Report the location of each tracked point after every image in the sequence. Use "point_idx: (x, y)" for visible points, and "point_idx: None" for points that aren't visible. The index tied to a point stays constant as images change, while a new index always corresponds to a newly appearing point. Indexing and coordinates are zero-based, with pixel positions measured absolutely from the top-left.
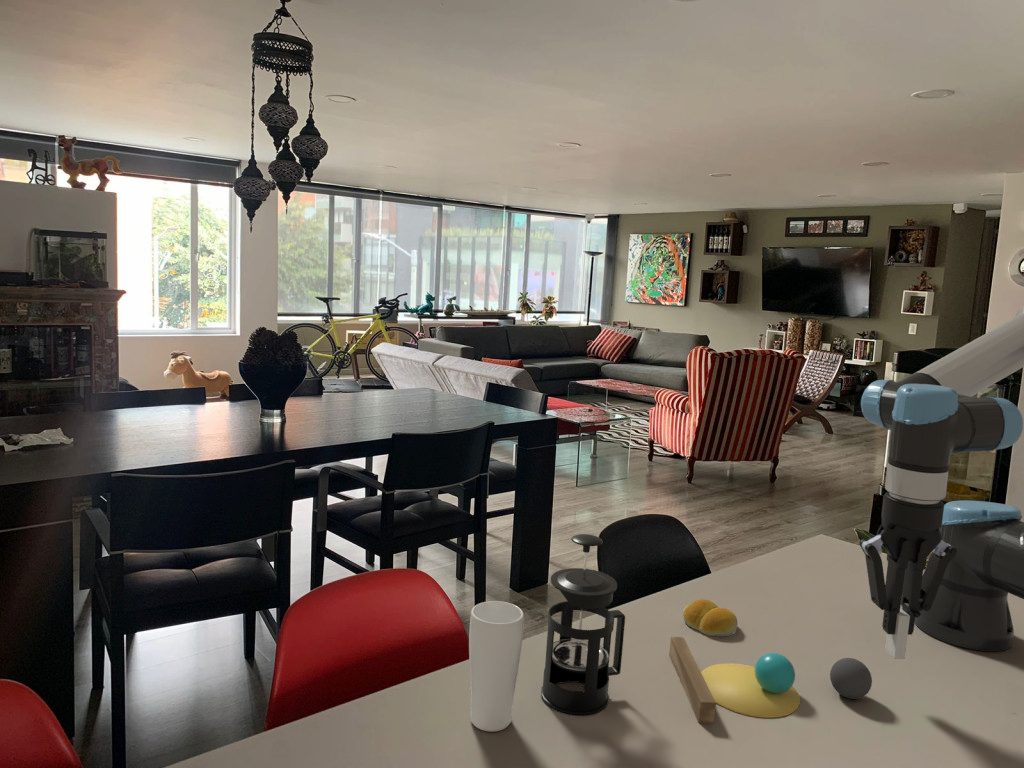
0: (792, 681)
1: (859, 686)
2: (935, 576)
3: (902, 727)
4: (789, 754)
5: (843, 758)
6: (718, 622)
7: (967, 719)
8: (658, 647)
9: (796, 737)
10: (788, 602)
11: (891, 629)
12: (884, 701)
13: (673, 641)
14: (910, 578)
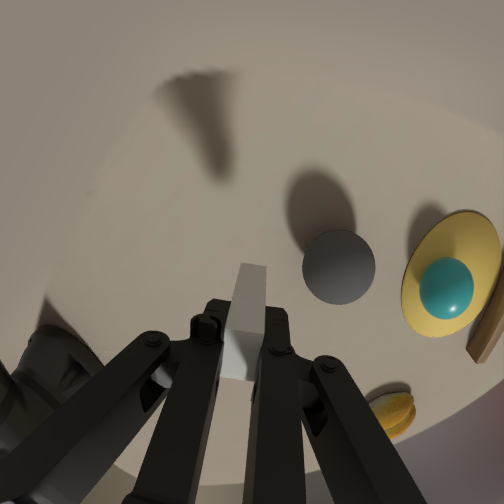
0: (440, 263)
1: (349, 234)
2: (77, 435)
3: (299, 156)
4: (486, 136)
5: (437, 108)
6: (403, 406)
7: (163, 174)
8: (471, 362)
9: (467, 164)
10: (246, 445)
11: (274, 315)
12: (277, 233)
13: (490, 353)
14: (198, 462)
